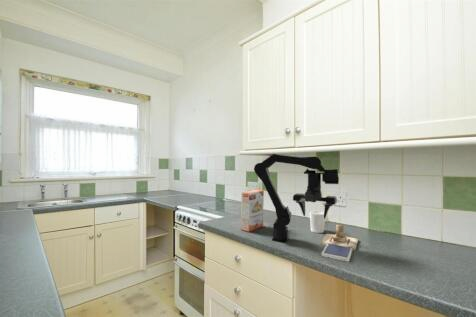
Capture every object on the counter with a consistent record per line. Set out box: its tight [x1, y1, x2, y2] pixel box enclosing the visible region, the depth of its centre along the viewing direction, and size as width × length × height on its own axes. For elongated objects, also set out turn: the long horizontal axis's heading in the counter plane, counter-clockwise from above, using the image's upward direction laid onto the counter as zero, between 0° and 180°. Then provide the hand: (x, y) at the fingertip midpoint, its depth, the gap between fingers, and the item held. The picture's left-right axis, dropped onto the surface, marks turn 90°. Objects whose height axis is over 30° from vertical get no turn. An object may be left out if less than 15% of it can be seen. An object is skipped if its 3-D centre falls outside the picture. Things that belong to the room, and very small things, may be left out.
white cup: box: [309, 210, 326, 234], centre depth 125 cm, size 8×8×10 cm
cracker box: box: [240, 189, 265, 233], centre depth 130 cm, size 14×6×21 cm, turn 140°
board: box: [320, 233, 359, 251], centre depth 108 cm, size 14×14×1 cm
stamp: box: [333, 224, 347, 243], centre depth 108 cm, size 5×5×7 cm
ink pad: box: [321, 244, 353, 262], centre depth 95 cm, size 10×12×2 cm
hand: (314, 217), depth 107 cm, fingers open, 9 cm apart
